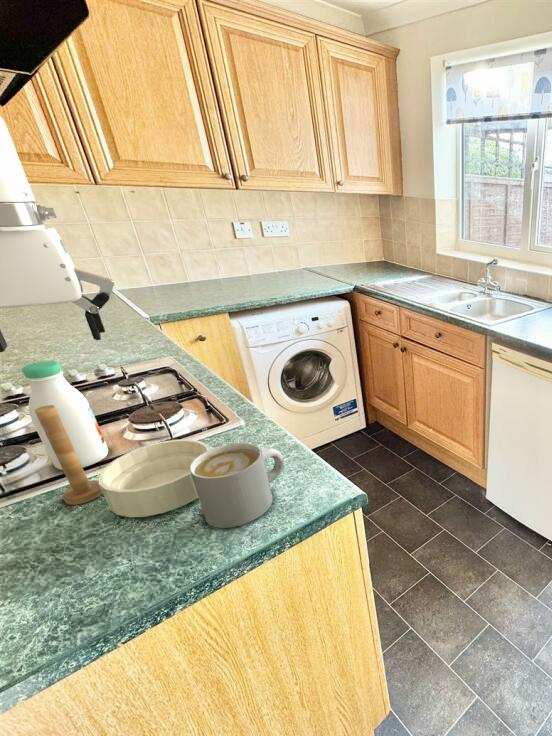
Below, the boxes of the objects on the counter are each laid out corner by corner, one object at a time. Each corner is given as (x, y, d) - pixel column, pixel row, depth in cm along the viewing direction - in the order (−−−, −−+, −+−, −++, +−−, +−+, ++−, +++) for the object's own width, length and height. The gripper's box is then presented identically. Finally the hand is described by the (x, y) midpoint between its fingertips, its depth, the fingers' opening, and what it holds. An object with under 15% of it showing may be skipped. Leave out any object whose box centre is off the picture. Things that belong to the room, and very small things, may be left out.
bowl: (94, 498, 72) (81, 470, 70) (191, 456, 84) (183, 431, 82) (137, 534, 66) (124, 504, 63) (235, 482, 78) (228, 456, 75)
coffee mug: (214, 537, 66) (198, 486, 62) (198, 505, 72) (182, 457, 68) (301, 499, 75) (292, 453, 71) (280, 474, 81) (271, 429, 77)
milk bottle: (106, 463, 81) (65, 368, 72) (50, 476, 77) (0, 377, 68) (112, 444, 86) (75, 354, 78) (60, 455, 82) (15, 361, 74)
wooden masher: (59, 497, 72) (15, 410, 65) (97, 482, 76) (59, 398, 69) (72, 508, 70) (27, 419, 63) (109, 492, 74) (72, 406, 67)
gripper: (91, 214, 61) (129, 327, 68) (-105, 212, 50) (-36, 346, 57) (91, 219, 56) (132, 340, 63) (-127, 218, 45) (-48, 364, 52)
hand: (52, 343), depth 60 cm, fingers open, 9 cm apart
